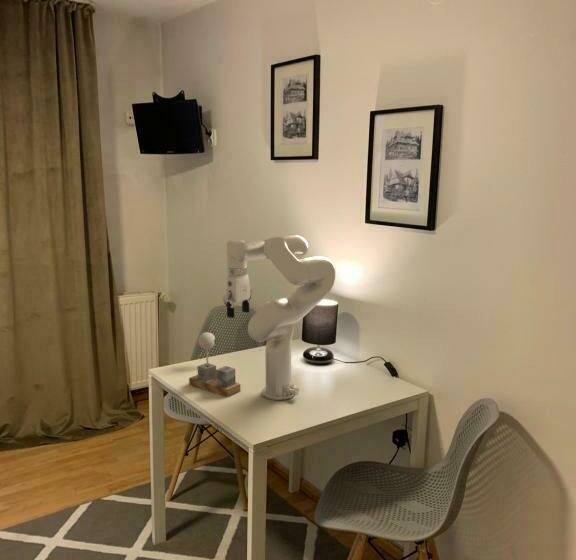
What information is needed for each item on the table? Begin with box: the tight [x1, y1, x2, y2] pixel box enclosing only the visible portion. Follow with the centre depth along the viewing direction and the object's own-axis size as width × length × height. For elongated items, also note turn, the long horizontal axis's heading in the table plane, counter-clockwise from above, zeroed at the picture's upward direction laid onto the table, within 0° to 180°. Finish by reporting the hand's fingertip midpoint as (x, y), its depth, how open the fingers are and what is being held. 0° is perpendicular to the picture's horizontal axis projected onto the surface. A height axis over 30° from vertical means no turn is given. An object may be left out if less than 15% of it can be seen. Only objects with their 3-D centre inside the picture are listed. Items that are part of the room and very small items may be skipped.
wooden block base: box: [188, 365, 241, 398], centre depth 214 cm, size 20×7×9 cm, turn 54°
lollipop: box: [197, 331, 216, 363], centre depth 237 cm, size 7×7×15 cm
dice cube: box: [196, 362, 217, 382], centre depth 216 cm, size 5×5×5 cm
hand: (238, 314), depth 222 cm, fingers open, 9 cm apart
